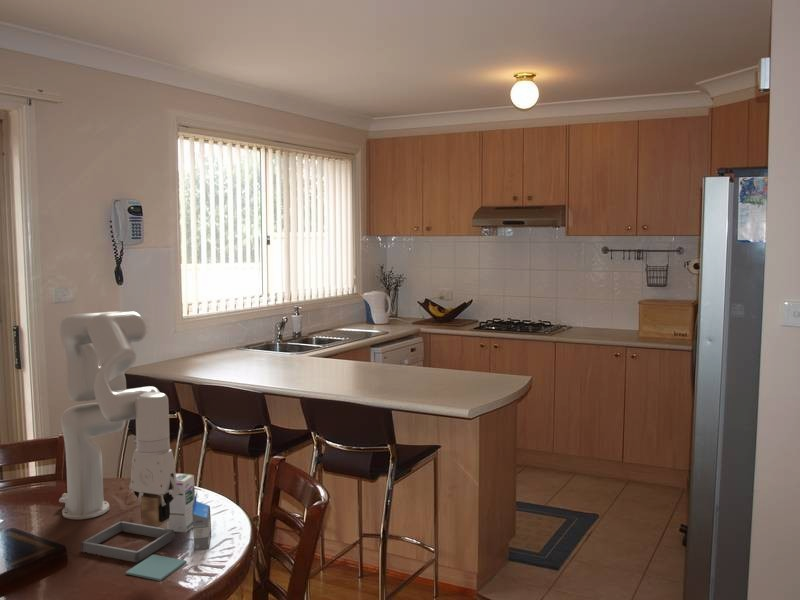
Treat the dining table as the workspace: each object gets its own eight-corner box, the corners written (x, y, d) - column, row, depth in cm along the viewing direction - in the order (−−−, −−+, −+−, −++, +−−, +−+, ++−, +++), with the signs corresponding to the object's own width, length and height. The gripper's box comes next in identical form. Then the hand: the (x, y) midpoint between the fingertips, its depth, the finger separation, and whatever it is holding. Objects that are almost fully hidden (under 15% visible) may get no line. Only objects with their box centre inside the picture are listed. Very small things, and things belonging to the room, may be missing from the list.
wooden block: (141, 524, 172) (140, 496, 172) (154, 517, 177) (153, 490, 176) (157, 527, 171) (156, 498, 170) (169, 520, 175) (168, 492, 174)
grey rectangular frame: (81, 551, 184) (81, 542, 183) (121, 529, 197) (120, 520, 197) (137, 562, 178) (137, 552, 178) (174, 539, 191) (173, 530, 191)
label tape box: (209, 549, 185) (208, 503, 184) (192, 550, 185) (191, 504, 183) (211, 535, 194) (210, 491, 193) (196, 536, 193) (195, 492, 192)
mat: (125, 573, 172) (125, 571, 172) (153, 556, 181) (153, 554, 181) (160, 580, 169) (160, 578, 169) (186, 562, 178) (186, 560, 178)
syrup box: (186, 533, 195) (185, 481, 194) (166, 531, 196) (165, 479, 195) (196, 524, 201) (195, 474, 199) (176, 522, 202) (175, 472, 201)
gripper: (113, 445, 171) (116, 519, 173) (172, 452, 166) (175, 529, 167) (134, 437, 178) (137, 508, 180) (192, 443, 173) (194, 517, 174)
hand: (155, 517), depth 174 cm, fingers closed on wooden block, 4 cm apart
